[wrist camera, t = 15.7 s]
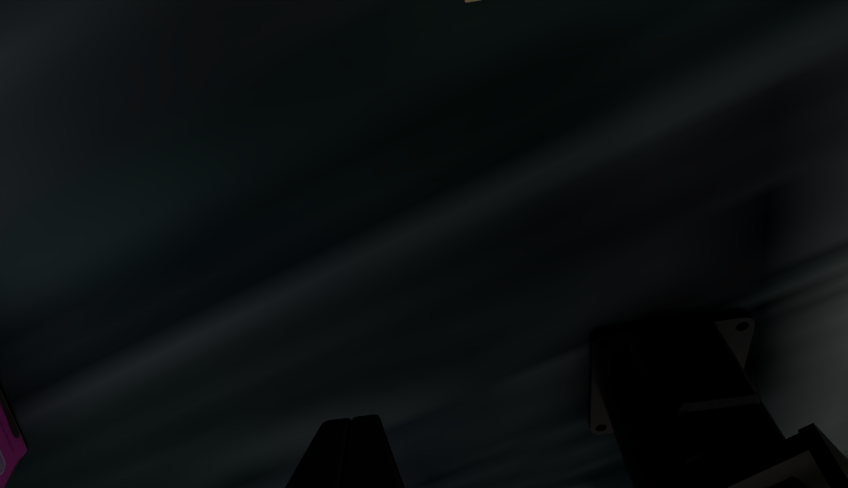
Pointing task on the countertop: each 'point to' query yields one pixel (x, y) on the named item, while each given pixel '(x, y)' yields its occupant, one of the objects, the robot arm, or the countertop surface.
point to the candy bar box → (9, 443)
